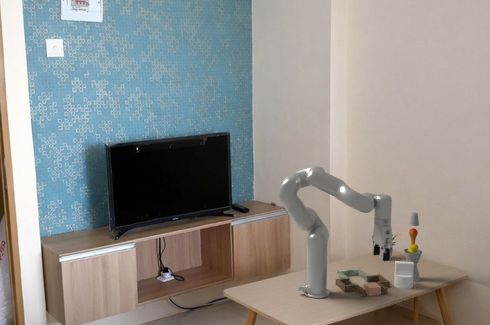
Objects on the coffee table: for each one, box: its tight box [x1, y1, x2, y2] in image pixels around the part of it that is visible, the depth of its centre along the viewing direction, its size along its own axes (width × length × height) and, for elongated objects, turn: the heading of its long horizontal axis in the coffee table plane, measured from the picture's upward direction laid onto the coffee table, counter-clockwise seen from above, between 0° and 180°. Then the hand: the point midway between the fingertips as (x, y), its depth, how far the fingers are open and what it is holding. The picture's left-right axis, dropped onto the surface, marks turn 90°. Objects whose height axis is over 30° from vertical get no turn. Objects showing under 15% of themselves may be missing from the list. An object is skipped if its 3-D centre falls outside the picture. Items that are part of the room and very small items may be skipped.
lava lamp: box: [403, 212, 423, 283], centre depth 293 cm, size 9×9×35 cm
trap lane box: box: [335, 268, 391, 298], centre depth 288 cm, size 24×29×3 cm
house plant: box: [380, 233, 402, 261], centre depth 327 cm, size 14×14×16 cm
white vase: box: [393, 260, 414, 290], centre depth 286 cm, size 9×9×12 cm
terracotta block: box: [363, 282, 382, 297], centre depth 277 cm, size 6×6×4 cm
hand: (381, 257), depth 267 cm, fingers open, 8 cm apart
